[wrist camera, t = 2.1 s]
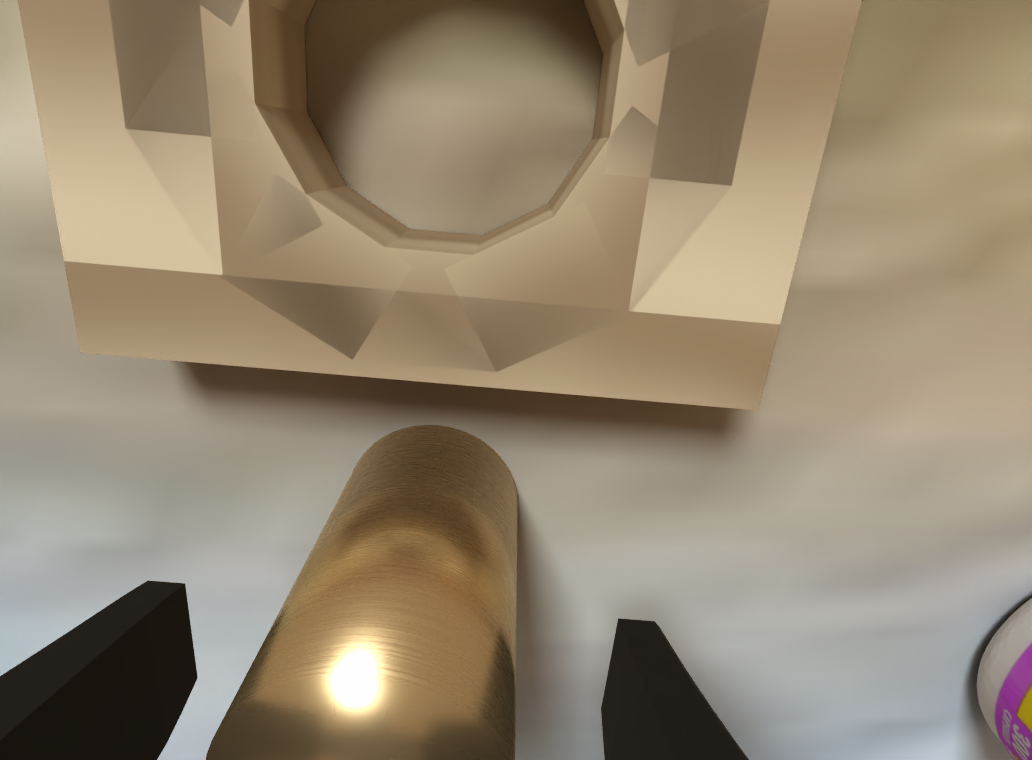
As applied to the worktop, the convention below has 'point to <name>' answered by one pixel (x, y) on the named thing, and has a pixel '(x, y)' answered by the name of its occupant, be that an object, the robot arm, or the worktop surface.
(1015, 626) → the supplement bottle
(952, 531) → the worktop surface
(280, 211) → the jig
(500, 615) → the brass round peg
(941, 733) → the worktop surface
